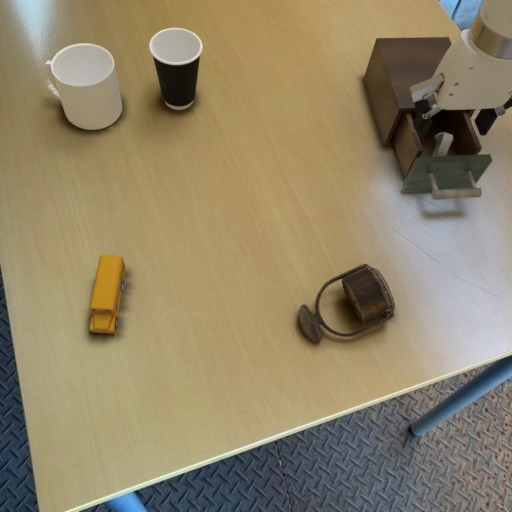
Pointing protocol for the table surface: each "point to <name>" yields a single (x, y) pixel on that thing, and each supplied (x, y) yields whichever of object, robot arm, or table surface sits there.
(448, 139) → the wristwatch
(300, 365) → the table surface
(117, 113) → the mug
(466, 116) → the drawer
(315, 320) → the mechanical counter
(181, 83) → the dixie cup
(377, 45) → the cabinet
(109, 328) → the toy bus
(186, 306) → the table surface
